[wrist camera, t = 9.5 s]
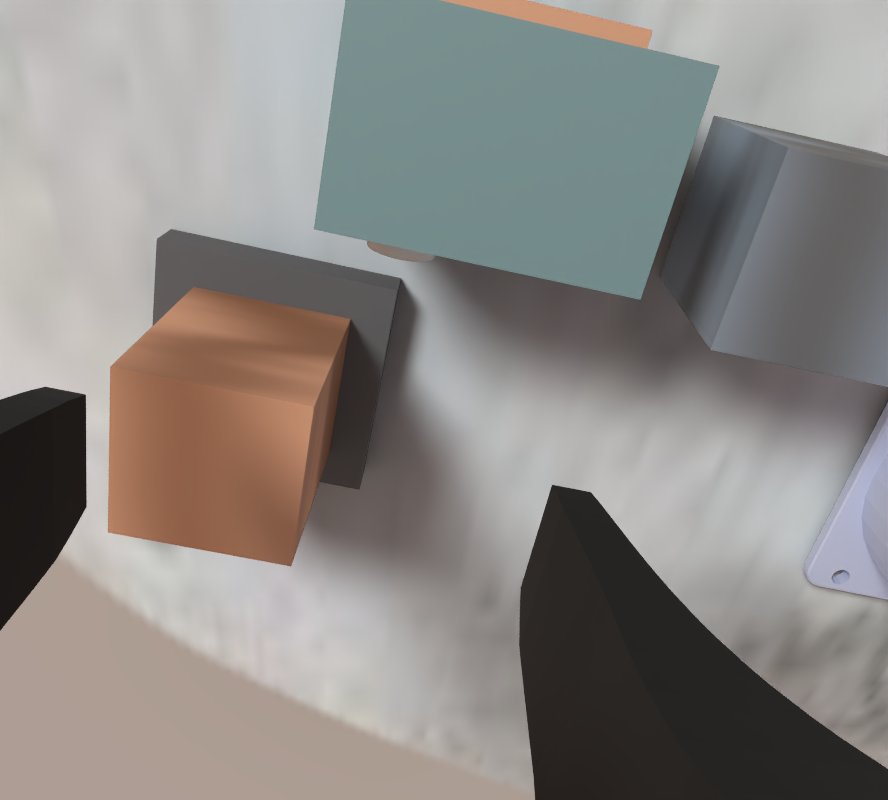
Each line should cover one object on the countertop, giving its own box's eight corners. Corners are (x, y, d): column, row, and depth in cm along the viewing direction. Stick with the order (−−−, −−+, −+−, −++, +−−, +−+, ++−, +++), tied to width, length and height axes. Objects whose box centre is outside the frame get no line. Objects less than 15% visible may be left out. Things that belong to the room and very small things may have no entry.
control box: (651, 36, 18) (726, 45, 12) (588, 245, 20) (630, 330, 15) (390, -26, 17) (352, -44, 12) (356, 193, 20) (309, 261, 14)
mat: (400, 278, 21) (397, 290, 20) (363, 471, 23) (359, 489, 22) (171, 229, 20) (156, 239, 19) (159, 430, 23) (146, 447, 22)
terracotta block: (350, 318, 20) (313, 406, 16) (329, 452, 22) (291, 566, 17) (193, 286, 20) (110, 367, 15) (184, 424, 22) (107, 532, 17)
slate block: (874, 151, 19) (998, 194, 14) (807, 307, 21) (899, 389, 16) (713, 115, 19) (788, 147, 14) (659, 275, 20) (710, 349, 16)
